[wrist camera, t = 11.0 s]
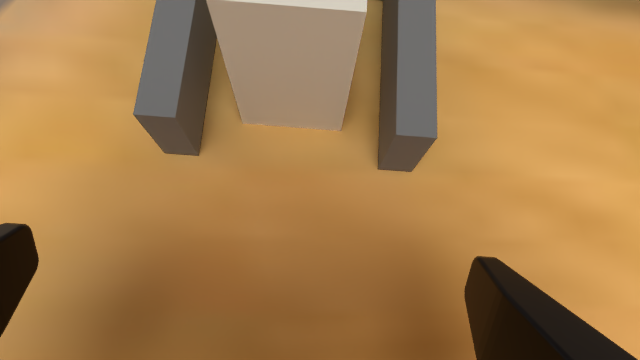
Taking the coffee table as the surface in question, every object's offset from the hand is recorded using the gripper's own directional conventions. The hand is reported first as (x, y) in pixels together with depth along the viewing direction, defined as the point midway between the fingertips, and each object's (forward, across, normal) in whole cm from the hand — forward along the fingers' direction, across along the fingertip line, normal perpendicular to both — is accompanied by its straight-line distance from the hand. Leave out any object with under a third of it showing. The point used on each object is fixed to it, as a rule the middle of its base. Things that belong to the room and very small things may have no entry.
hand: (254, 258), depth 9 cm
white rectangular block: (+14, 0, 0) cm, 14 cm away
